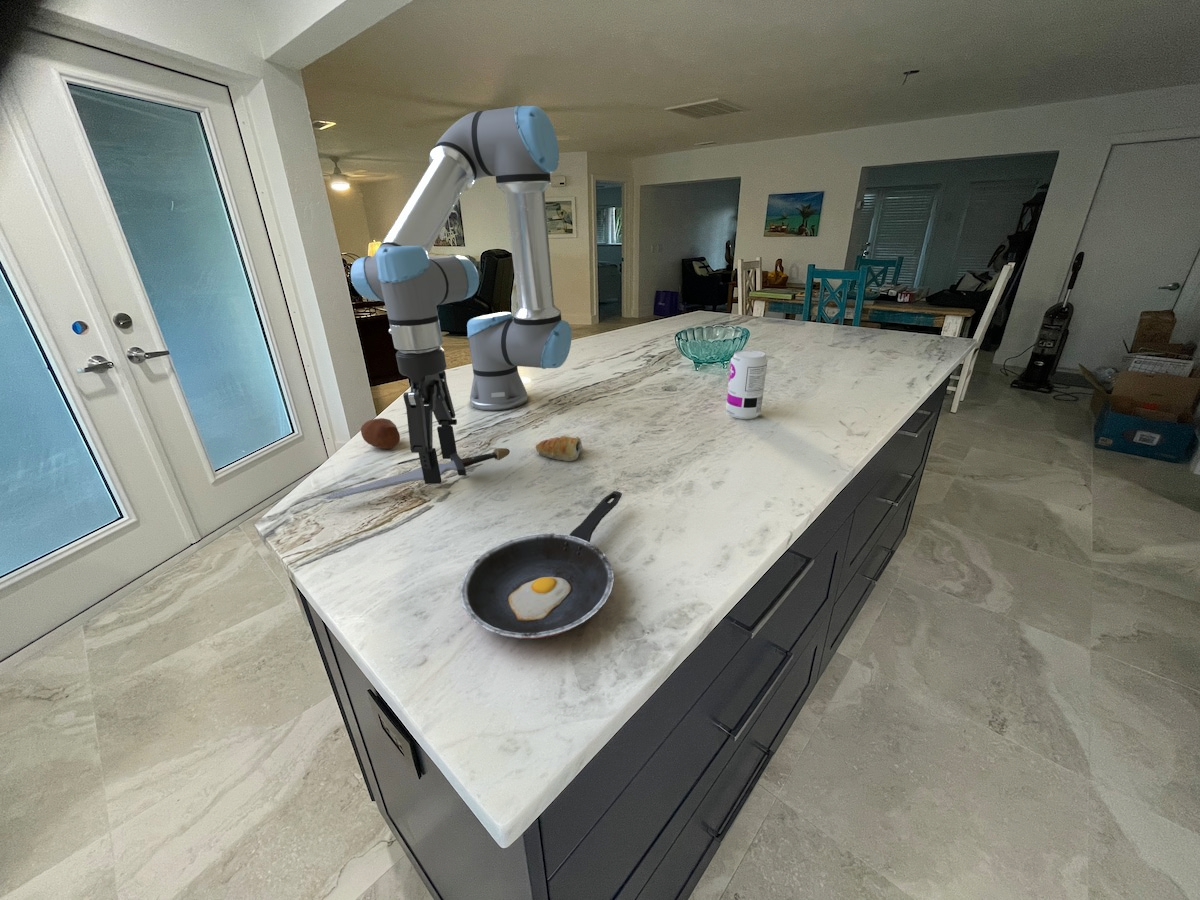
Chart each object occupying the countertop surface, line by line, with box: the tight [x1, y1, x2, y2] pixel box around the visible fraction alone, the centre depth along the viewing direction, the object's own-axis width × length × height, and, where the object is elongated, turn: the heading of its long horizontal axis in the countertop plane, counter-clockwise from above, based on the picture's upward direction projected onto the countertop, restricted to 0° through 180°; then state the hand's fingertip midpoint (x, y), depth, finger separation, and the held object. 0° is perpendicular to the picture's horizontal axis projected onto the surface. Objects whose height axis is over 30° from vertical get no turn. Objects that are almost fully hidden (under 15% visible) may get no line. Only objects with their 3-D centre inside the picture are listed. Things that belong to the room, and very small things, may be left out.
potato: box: [360, 417, 401, 450], centre depth 102 cm, size 7×9×6 cm
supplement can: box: [725, 349, 769, 420], centre depth 112 cm, size 8×8×15 cm
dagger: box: [323, 447, 511, 500], centre depth 83 cm, size 8×32×2 cm, turn 125°
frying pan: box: [459, 490, 623, 640], centre depth 64 cm, size 19×32×4 cm, turn 152°
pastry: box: [535, 435, 583, 462], centre depth 96 cm, size 9×7×4 cm
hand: (442, 469), depth 86 cm, fingers closed on dagger, 9 cm apart
